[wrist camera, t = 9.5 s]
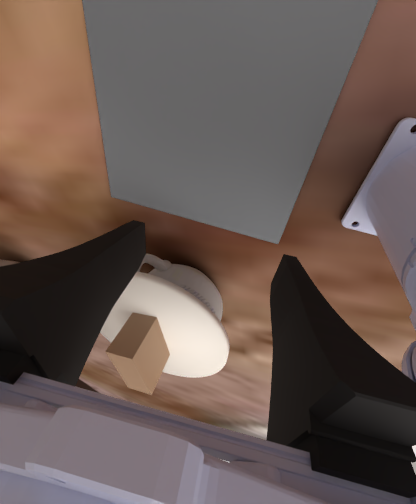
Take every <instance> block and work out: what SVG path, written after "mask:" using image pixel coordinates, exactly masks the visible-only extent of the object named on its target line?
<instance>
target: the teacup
mask: <svg viewBox="0 0 416 504" xmlns="http://www.w3.org/2000/svg"><path fill="white" fill-rule="evenodd" d="M144 263H148V264H150V265H152V266H153V267H155V269H153V270H152V271H151V272H149V273H148V274H151V275H154V276H157V277H160V278H162V279H165V280H167V281H169V282H172V283H174V284H176V285H178V286H180V287H181V288H183V289H184V290H186V291H188V292H189V293H191V294H192V295H194V296H195V297H196V298H198V299H199V300H200V301H201V302H203V303H204V304H205V305H206V306H207V307H208V308H209V309H210V310H211V311H212V312H213V313H214V314H215V315H216V316H217V318H218V319H219V320H220V321H221V318H222V312H223V303H222V298H221V295H220V293H219V291H218V289H217V288H216V286H215V285H214V284H213V282H212V281H211V280H210V279H209V278H208V277H207V276H206V275H205V274H203V273H202V272H201V271H199V270H197V269H195V268H192V267H190V266H186V265H180V264H171V263H170V262H169V261H168V260H162V259H160V258H158V257H157V256H154V255H152V254H146V255H145V257H144V259H143V261H142V263H141V265H140V267H139V269H138V272H140V268H141V266H142V264H144Z"/></svg>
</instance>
